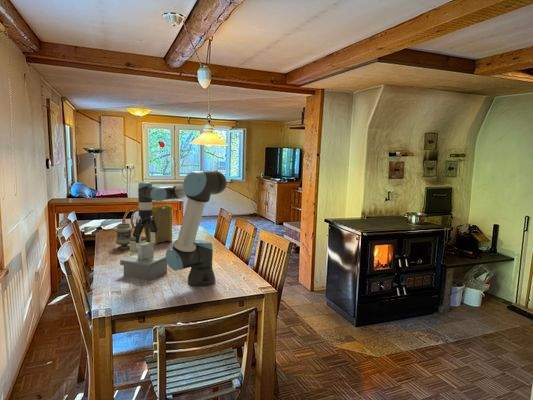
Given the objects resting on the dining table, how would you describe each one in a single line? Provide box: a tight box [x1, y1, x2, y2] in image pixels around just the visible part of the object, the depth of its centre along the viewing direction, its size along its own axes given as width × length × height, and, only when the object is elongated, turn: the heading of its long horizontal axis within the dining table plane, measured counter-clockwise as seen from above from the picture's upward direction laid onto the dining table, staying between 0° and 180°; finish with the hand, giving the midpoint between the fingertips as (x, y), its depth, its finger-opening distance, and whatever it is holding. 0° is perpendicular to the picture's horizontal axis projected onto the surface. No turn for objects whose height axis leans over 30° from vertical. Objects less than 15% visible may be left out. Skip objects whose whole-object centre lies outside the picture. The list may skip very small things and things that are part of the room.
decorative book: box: [143, 204, 173, 245], centre depth 284 cm, size 20×11×30 cm, turn 136°
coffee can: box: [129, 235, 146, 256], centre depth 238 cm, size 10×10×14 cm
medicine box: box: [138, 242, 155, 260], centre depth 207 cm, size 8×4×9 cm, turn 141°
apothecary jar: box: [114, 222, 133, 250], centre depth 264 cm, size 12×12×18 cm
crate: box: [123, 259, 168, 281], centre depth 208 cm, size 18×16×8 cm
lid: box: [119, 253, 166, 266], centre depth 208 cm, size 20×16×3 cm
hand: (145, 245), depth 206 cm, fingers open, 13 cm apart
